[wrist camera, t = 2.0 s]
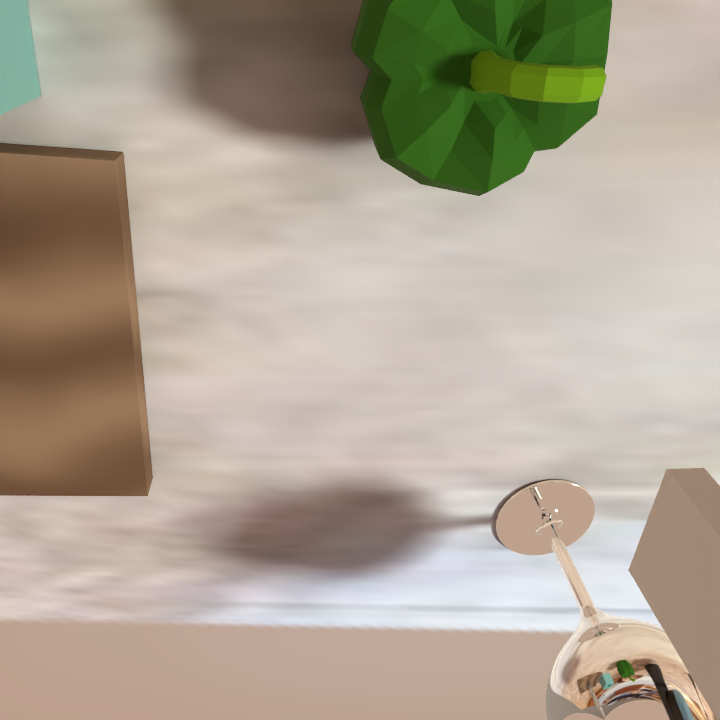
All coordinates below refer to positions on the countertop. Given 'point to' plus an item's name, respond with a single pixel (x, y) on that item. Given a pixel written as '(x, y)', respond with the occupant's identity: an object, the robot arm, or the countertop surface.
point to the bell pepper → (478, 83)
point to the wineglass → (597, 625)
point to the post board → (69, 328)
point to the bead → (16, 56)
